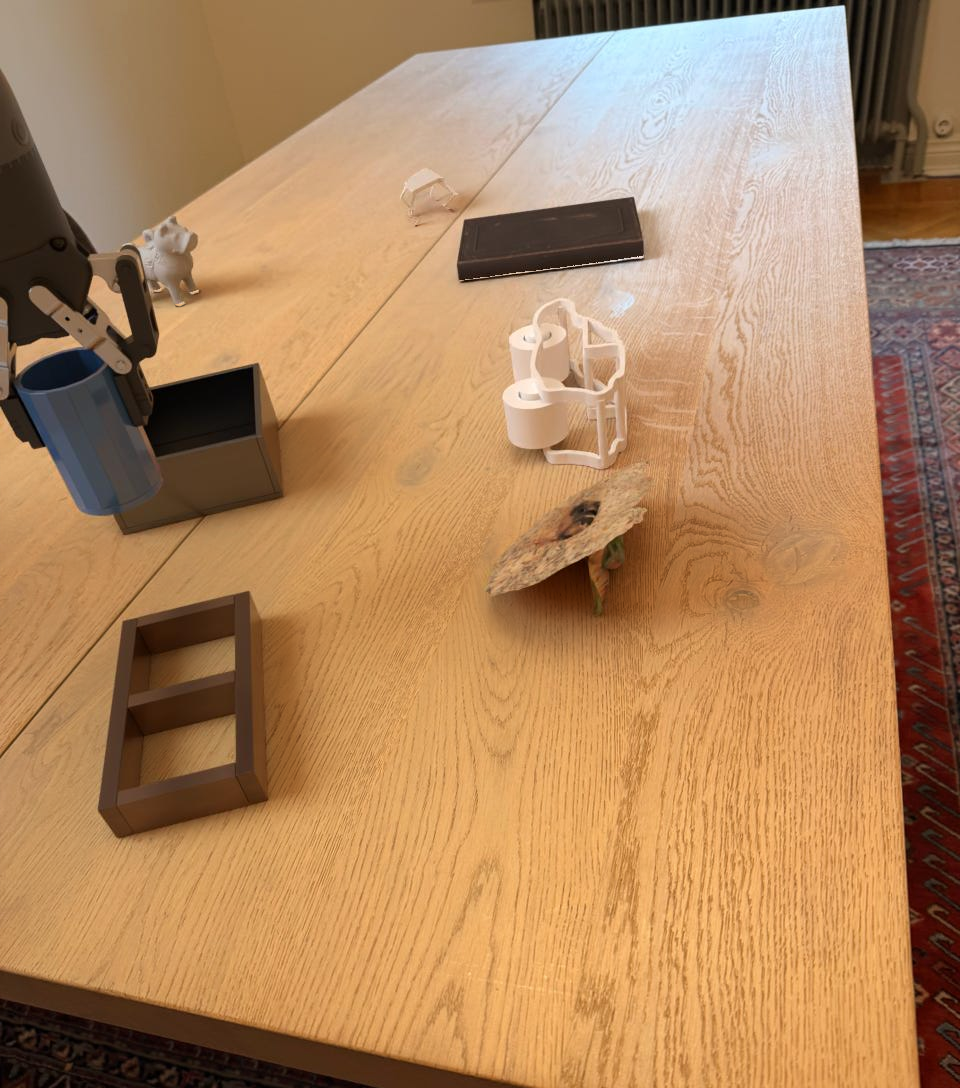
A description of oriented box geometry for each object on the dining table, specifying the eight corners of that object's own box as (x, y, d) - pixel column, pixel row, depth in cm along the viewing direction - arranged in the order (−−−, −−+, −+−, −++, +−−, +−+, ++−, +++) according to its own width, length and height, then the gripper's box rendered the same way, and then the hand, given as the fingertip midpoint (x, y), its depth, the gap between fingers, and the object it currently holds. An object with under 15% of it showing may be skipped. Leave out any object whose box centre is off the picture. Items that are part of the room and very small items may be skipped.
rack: (116, 838, 61) (96, 810, 59) (137, 648, 74) (122, 620, 72) (268, 800, 61) (254, 771, 59) (261, 618, 75) (249, 589, 73)
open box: (122, 535, 87) (92, 475, 82) (135, 453, 98) (109, 396, 94) (283, 497, 88) (262, 435, 83) (277, 419, 99) (258, 362, 94)
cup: (70, 524, 62) (5, 401, 56) (82, 476, 66) (23, 358, 60) (160, 504, 62) (105, 380, 56) (166, 458, 66) (116, 338, 60)
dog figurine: (205, 308, 125) (176, 226, 117) (128, 306, 129) (95, 227, 122) (226, 290, 128) (199, 210, 121) (150, 289, 132) (120, 211, 125)
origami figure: (463, 218, 135) (458, 182, 132) (406, 230, 135) (399, 194, 132) (454, 192, 144) (449, 158, 140) (401, 203, 144) (394, 169, 140)
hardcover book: (466, 236, 130) (463, 219, 128) (634, 214, 126) (633, 196, 125) (459, 283, 118) (456, 265, 116) (644, 260, 115) (643, 241, 113)
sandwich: (515, 592, 83) (481, 513, 80) (673, 535, 79) (643, 450, 77) (503, 676, 66) (460, 579, 63) (702, 608, 63) (666, 503, 60)
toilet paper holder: (517, 370, 99) (509, 303, 94) (623, 360, 97) (620, 291, 92) (507, 477, 84) (496, 404, 80) (631, 467, 83) (628, 392, 78)
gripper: (103, 110, 53) (203, 382, 64) (-154, 162, 52) (-7, 427, 63) (86, 146, 47) (199, 436, 59) (-201, 203, 47) (-31, 486, 58)
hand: (91, 430), depth 61 cm, fingers closed on cup, 6 cm apart
